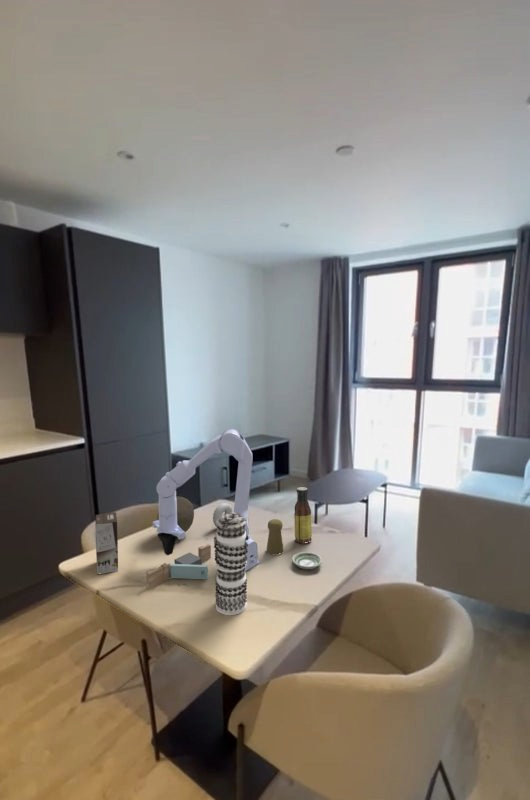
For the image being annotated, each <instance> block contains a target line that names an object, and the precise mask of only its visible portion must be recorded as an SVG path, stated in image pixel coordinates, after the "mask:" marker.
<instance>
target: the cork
mask: <svg viewBox="0 0 530 800" xmlns="http://www.w3.org/2000/svg"><path fill="white" fill-rule="evenodd" d="M283 527H284V525H283V522H282V521H281V520H279V519H275V518H274V519H270V520H269V521H268V523H267V529H268V537H267V543H266V550H267V551H266V553H267V552H268V553H270V554H269V555H271V554H279V553H282V552H283V553H284V545H283V544H284V543H283V535H282V529H283ZM268 553H267V554H268ZM283 553H282V554H283Z"/></svg>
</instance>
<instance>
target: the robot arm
mask: <svg viewBox="0 0 530 800" xmlns="http://www.w3.org/2000/svg"><path fill="white" fill-rule="evenodd" d="M223 452H225V453H227V454H228V455H231V456H232V457H234V459H235V460H236V461H238V464H237V465H238V466H237V476H236V484H235V485H236V486H235V494H234V495H235V496H234V507H233V513H238V514H240V515H242V517H243V518H245V519H246V521H247V522H246V524H245V531H246V535H248V538H249V539H248V540H246V538H245V542H247V543H248V547H247V549H248V552H247V553H246V554H245V555H247V558H248V559H247V560H246V562H247V565H246V567H245V572H247V571H248V570H250V569H252V568H253V567H255V566H257V565H258V564H260V561H259V559H258V555H259V553H258V543H257V542H256V541H255V540H253V539H252V537H251V533H250V529H249V523H250V522H249V521H250V520H249V516H248V511H249V510H248V509H249V508H248V507H249V499H250V491H251V489H250V488H251V479H252V470H253V458H254V457H253V452H252V451H251V449H250V446H249V444H248V442H247V441H246V439H245V437H244V435H243V434H242V433H241V432H239V430H237V429H235V428H226V430H224V431H223V433H221V434H217V436H216V437H214V438H213V439H211V440H210V441H209V442H208V443H207V444H206V445H204V447H202V448H201V449H200V450H199V452H197V453H196V454H195V455H194V456H193V457H192V458H191V459H189V460H185V459H184V460H182V461H178V462H177V463H176V464H175V465H176V466H175V467H173V469H171V470H170V471H167V472H166V473H165V475H164V476H162V477H161V479H160V480H159V481H158V483H157V484H156V493H157V494H158V512H159V520H157V519H156V520H153V521H152V528H153V529H156V533H157V537H158V539H159V541H160V542H161V545H162V548H163V552H164V554H165V555H166V556H170V555H172V554H174V549H175V545H176V541H177V540H182V539H185V538H186V532H185V531H183V530H182V529H181V528H180V527H179V526H178V525H177V499H176V496H177V489H178V488H180V487H182V486H183V485H184V484H185V483H186V482H188V481H189V480H190V479H191V478H192V477H193V476H194V475H195V474H196V468H197V467H199V466H200V465H202V464H203V463H204V462H205V461H207V460H208V459H209V458H210V457H211V456H213V455H214V454H223Z"/></svg>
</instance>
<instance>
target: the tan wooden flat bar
mask: <svg viewBox="0 0 530 800" xmlns="http://www.w3.org/2000/svg"><path fill="white" fill-rule="evenodd" d="M197 547H198V546H197ZM211 548H212V545H211V544H210V543H208V544H205V545H204V546H203V545H200V546H199V547H198V548H197V549H198V551H197V552H198V553H197V556H198V557H200V558H202V564H203V563H205V562H206V561H207V560H209V559H211V558H212V553H211V552H212V551H211ZM168 564H169V563H166V562H164V563H162V564H161V565H160V566H159V567H157V568H155V569H152V570H150V571H148V572H146V589H148V590H151V589H153V588H156V587H157V586H158V585H159V586H160V585H161V584H162V583H165V582H167V581H168V582H169V579H170V578H169V568H168Z"/></svg>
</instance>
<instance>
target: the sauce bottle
mask: <svg viewBox="0 0 530 800" xmlns="http://www.w3.org/2000/svg"><path fill="white" fill-rule="evenodd" d="M308 492H309V489H308V488H307V487H306V486H301V487H300V486H299V487H297V488H296V494H297V496H296V497H297V498H296V503H295V504H294V513H293V514H294V515H293V517H294V538H295V542H297V541H298V542H297V543H299V542H301V543H300V544H302V543H305V542H309V541H311V542H312V535H313V534H312V533H313V531H312V528H313V527H312V509H311V507H310V503H309V501H308V500H309V499H308ZM309 543H310V542H309Z"/></svg>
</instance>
